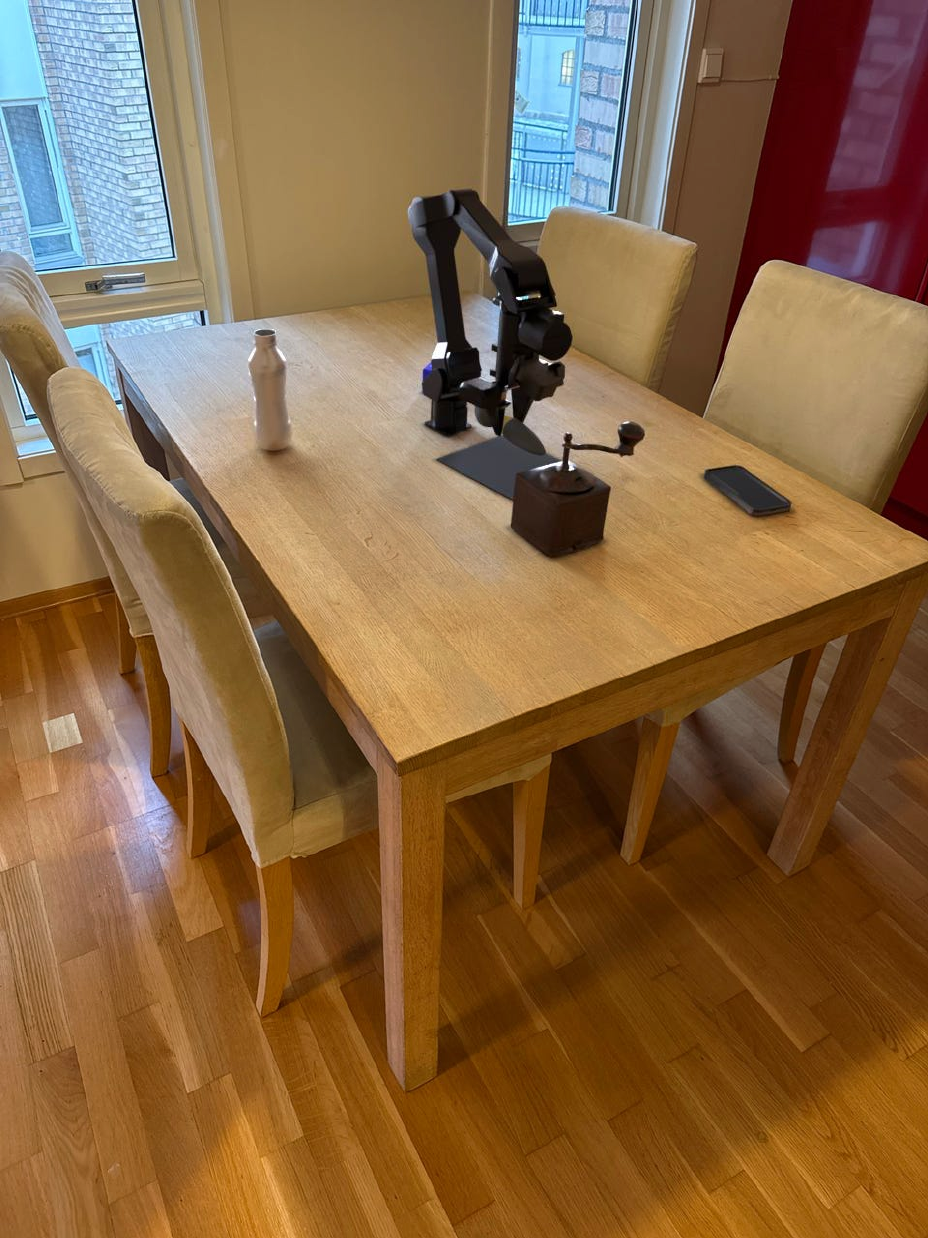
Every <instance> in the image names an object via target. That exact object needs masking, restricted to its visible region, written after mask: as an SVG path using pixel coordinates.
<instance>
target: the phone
mask: <svg viewBox="0 0 928 1238" xmlns="http://www.w3.org/2000/svg"><path fill="white" fill-rule="evenodd" d="M703 479H704V480H705V481H706V482H708V483H709V484H711V485H712V486H713V487H715V489H717V490H718V491H720V492H721V493H722V494H724V495H725V496H726V497H727V498H729V499H730V500H731V501H733V502H734V503H735V504H736V505H738V506H739V507H740V508H742V509H743V510H744V511H746V512H747V513H748V514H749V515H752V516H754V517H761V516H768V515H773V514H779V513H784V512H788V511H789V512H790V510H791V507H792V503H793V502H792V501H791V500H789V498H787V497H786V496H784V495H783V494H781V493H780V492H778V491H777V490H776V489H775V488H774V487H772V486H770V485H769V484H768V483H766V482H765V481H764V480H762V479H761V478H759V477H758V476H757V475H755V474H754V473H753V472H751V471H750V470H749V469H747V468H745V467H744V466H742V465H740V464H739V465H738V464H732V465H727V466H725V465H724V466H719V467H713V468H707V469H705V470H704V472H703Z"/></svg>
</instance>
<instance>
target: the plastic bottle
mask: <svg viewBox="0 0 928 1238" xmlns="http://www.w3.org/2000/svg"><path fill="white" fill-rule="evenodd" d="M277 335H278V334H277V331H276V330H275V329H273V328H259V329H256V330H254V331H253V346H255V348H254V349H253V351H252V352H251V354H250V356H249V358H248V360H247V371H248V375H249V380H250V383H251V387H252V388H251V389H252V393H253V399H254V400H253V401H254V425H253V436H254V439H255V443H256V444H257V445H258V447H259V448H261V449H263V450H266V451H280V450H283V449H284V450H285V448H288V447H289V446H290V444H291V442H292V439H293V428H292V423H291V421H290V416H289V409H288V404H287V377H288V376H287V373H288V362H287V360H286V358H285V355H284V354H283V353H282V351H281V350H280V349H279V348H278V347H277V345H278V343H279V341H278V338H277Z"/></svg>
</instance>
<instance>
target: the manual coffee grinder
mask: <svg viewBox="0 0 928 1238" xmlns="http://www.w3.org/2000/svg"><path fill="white" fill-rule="evenodd" d="M616 433H617V435H618V438H619V442H618V444H617V445H616V446H615V447H610V446H606V445H602V444H596V443H595V444H594V443H572V440H573V437H574V436H573V433H571V432H565V433H564V434H563V441H562V444H561V447H563V452H562V460H561V461H562V462H558V463H554V464H551V465H547V466H543V467H539V468H535V469H531V470H527V471H524V472H520V473H516V476H515V487H514V497H513V501H512V510H511V518H510V519H511V521H510V529H511V530H513V531H514V532H515V533H516V534H517V535H518V536H519V537H521V538H522V539H523V540H525V541H526V542H527V543H528V544H530V545H531V546H533V547H534V548H535V549H537V550H538V551H539V552H540V553H541V554H543V555H544V556H546V557H548V558H550V559H554V558H556V557H561V556H563V555H567V554H572V553H574V552H578V551H581V550H584V549H586V548H588V547H591V546H593V545H596V544H598V543H599V542H602V541H603V540H604V539H605V538H604V537H605V536H604V532H605V526H606V520H607V514H608V507H609V501H610V495H611V491H612V488H611V485H609V484H608V483H607V482H606V481H604V480H602V479H601V478H599V477H597V476H595V475H594V474H593V473H591V472H589V471H587V470H586V469H584V468H583V467H581V466H580V465H578V464H576V463H574V462H572V461H570V460H569V459H570V453H571V450H574V451H600V452H604V453H606V454H607V453H608V454H614V455H618V456H620V457H621V458H623V457H626V456H628V457H632V456H634V455H635V452H634V451H635V447H636V446H637V445H638V444H639V443H641V442H642V441H643V440H644V438H645V436H646V432H645V429H644V428H643V427H642V426H641V424H639V423H638V422H634V421H631V420H630V421H625V422H622V423H620V425H618V427H617V432H616Z"/></svg>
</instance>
